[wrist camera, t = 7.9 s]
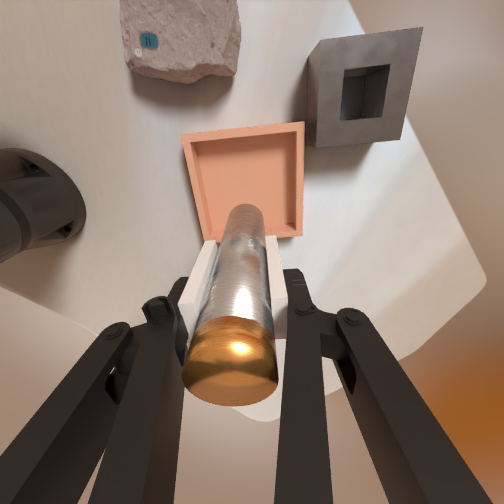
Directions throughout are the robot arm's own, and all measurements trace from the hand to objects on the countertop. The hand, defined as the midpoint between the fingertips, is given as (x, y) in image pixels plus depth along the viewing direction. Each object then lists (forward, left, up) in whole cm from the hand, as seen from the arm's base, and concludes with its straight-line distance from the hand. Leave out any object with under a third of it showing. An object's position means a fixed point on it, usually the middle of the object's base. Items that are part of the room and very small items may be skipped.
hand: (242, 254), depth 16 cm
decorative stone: (-6, +18, -23) cm, 30 cm away
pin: (0, 0, -7) cm, 7 cm away
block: (+14, +10, -22) cm, 28 cm away
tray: (0, 0, -22) cm, 22 cm away
